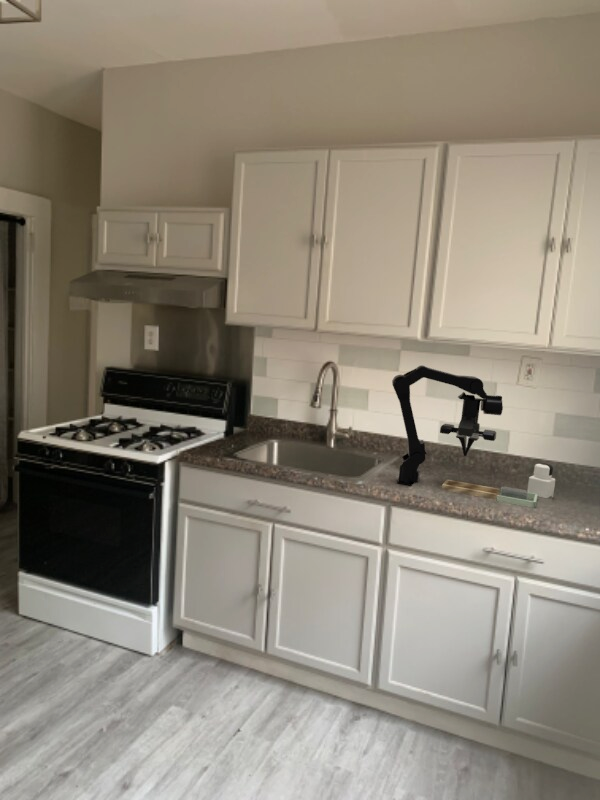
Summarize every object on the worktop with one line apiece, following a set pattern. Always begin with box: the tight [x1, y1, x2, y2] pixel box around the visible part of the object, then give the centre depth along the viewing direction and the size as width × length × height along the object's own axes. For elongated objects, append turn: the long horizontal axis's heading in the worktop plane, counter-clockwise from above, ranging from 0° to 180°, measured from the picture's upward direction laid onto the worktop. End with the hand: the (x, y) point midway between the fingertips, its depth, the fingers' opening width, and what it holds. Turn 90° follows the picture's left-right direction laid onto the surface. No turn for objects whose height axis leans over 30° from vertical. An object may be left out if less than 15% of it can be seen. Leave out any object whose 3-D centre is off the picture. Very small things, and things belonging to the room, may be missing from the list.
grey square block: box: [513, 488, 528, 500], centre depth 211 cm, size 4×4×4 cm
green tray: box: [496, 487, 539, 509], centre depth 212 cm, size 12×12×3 cm
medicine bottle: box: [526, 462, 556, 499], centre depth 221 cm, size 7×7×12 cm
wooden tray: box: [441, 479, 500, 501], centre depth 218 cm, size 18×9×3 cm, turn 66°
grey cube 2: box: [500, 486, 515, 498], centre depth 213 cm, size 4×4×4 cm
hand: (465, 455), depth 223 cm, fingers closed
